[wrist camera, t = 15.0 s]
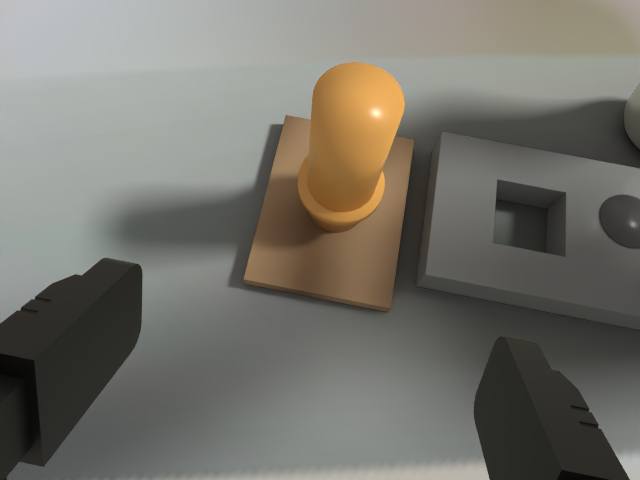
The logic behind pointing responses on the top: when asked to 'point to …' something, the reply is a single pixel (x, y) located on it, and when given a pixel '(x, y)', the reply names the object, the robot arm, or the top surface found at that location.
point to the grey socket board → (562, 230)
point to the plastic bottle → (633, 117)
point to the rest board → (328, 233)
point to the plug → (349, 144)
